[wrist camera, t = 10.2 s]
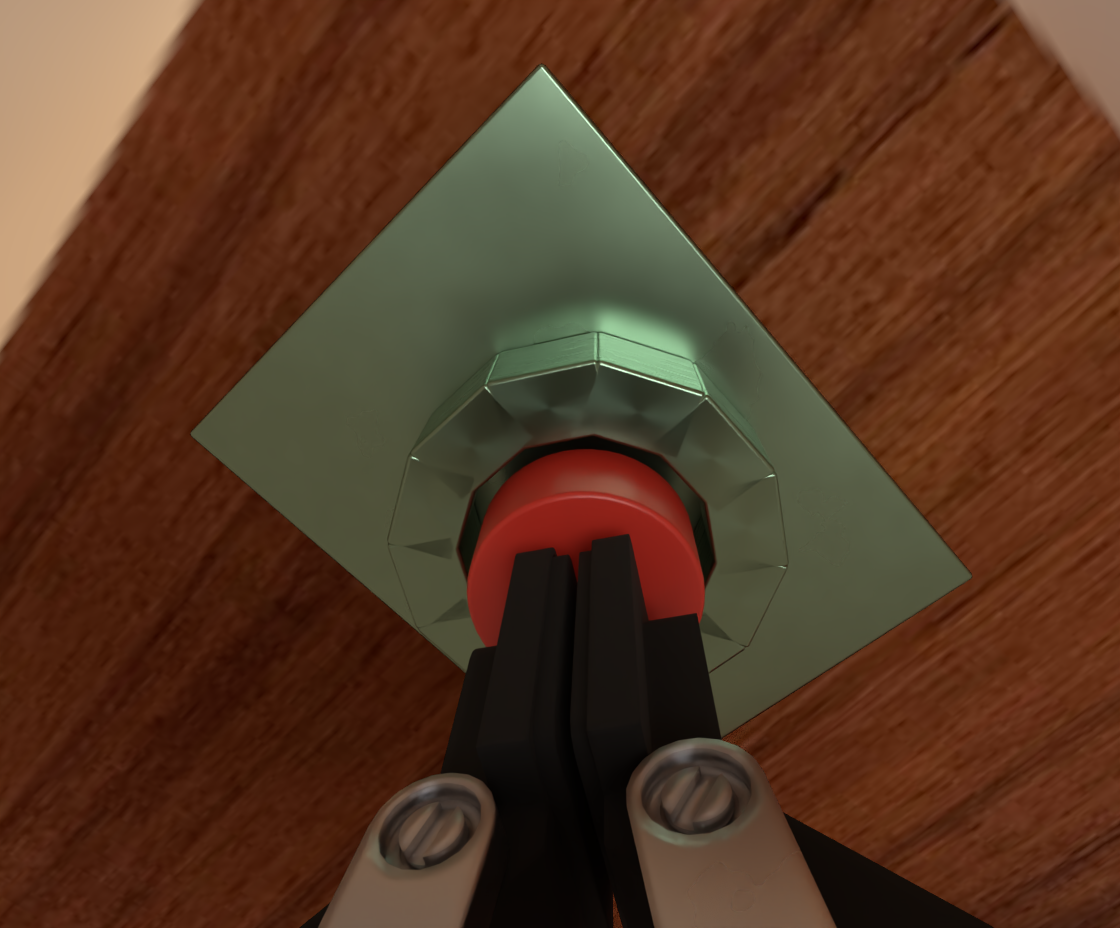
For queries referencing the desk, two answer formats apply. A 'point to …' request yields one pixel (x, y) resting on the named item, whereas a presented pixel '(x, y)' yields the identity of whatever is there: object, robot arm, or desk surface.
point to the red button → (586, 531)
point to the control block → (573, 408)
